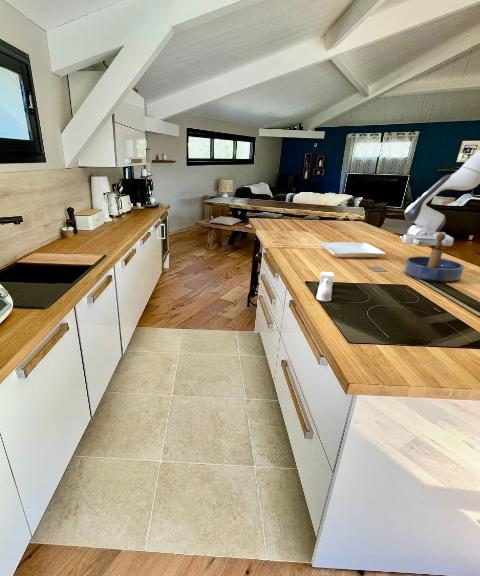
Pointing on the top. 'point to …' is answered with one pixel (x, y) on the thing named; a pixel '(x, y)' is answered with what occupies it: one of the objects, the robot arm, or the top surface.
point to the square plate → (352, 249)
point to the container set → (325, 286)
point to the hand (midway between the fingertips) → (431, 243)
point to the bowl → (434, 269)
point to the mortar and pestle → (436, 253)
